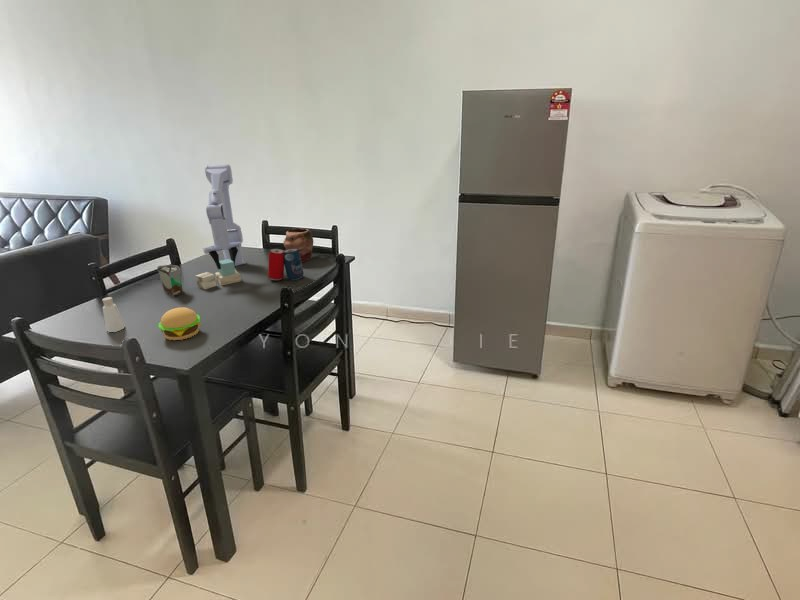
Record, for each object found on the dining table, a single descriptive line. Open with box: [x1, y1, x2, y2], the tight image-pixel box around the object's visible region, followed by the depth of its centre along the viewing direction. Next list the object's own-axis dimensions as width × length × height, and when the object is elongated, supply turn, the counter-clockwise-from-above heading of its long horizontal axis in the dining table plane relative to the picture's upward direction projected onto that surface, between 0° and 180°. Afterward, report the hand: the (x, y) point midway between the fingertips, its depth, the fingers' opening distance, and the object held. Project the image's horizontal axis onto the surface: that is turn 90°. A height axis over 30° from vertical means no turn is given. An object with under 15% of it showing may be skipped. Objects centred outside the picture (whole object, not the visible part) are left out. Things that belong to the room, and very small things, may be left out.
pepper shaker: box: [101, 296, 126, 333], centre depth 145 cm, size 5×5×11 cm
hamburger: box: [158, 306, 202, 342], centre depth 142 cm, size 12×12×9 cm
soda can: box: [283, 248, 304, 281], centre depth 187 cm, size 7×7×12 cm
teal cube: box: [218, 259, 236, 276], centre depth 186 cm, size 5×5×5 cm
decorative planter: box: [282, 228, 314, 263], centre depth 211 cm, size 20×12×14 cm, turn 164°
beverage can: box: [267, 248, 285, 281], centre depth 185 cm, size 6×6×12 cm
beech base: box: [214, 269, 242, 286], centre depth 188 cm, size 8×8×4 cm
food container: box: [157, 264, 184, 298], centre depth 176 cm, size 12×6×10 cm, turn 47°
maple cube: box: [195, 271, 217, 290], centre depth 182 cm, size 5×5×5 cm
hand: (226, 267), depth 186 cm, fingers open, 5 cm apart
